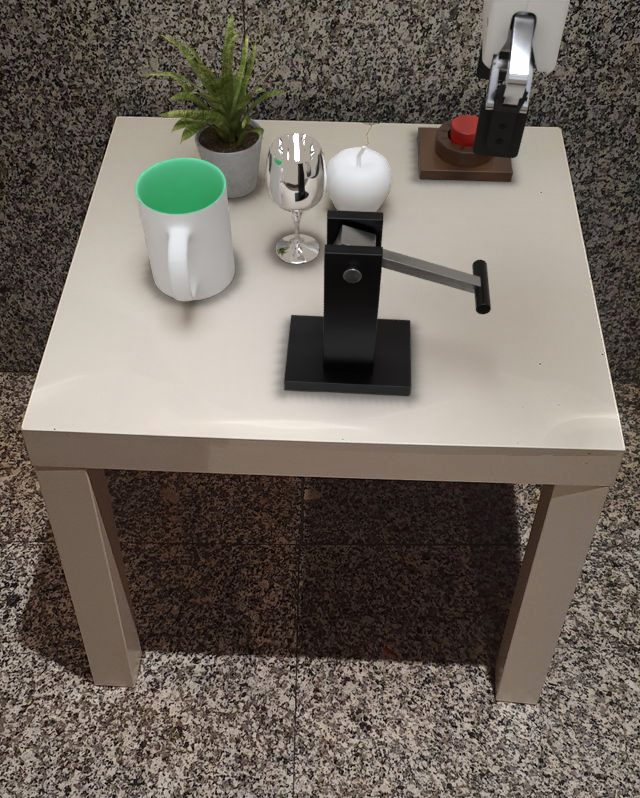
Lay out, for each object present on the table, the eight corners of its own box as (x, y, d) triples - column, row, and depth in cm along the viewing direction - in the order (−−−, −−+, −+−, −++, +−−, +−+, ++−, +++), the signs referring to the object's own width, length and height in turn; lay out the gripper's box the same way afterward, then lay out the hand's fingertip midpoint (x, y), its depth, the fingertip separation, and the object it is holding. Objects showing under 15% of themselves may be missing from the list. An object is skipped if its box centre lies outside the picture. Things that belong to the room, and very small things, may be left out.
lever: (479, 276, 70) (492, 256, 69) (483, 321, 67) (497, 301, 65) (333, 233, 68) (343, 211, 66) (330, 278, 64) (340, 256, 63)
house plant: (170, 138, 96) (147, -3, 83) (290, 136, 97) (286, -5, 84) (159, 219, 87) (132, 75, 75) (291, 217, 88) (287, 73, 75)
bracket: (409, 328, 78) (425, 201, 66) (409, 396, 73) (427, 271, 61) (291, 323, 78) (287, 195, 67) (284, 390, 73) (278, 264, 62)
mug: (236, 328, 78) (226, 243, 70) (149, 333, 78) (129, 247, 69) (234, 242, 85) (225, 155, 77) (155, 245, 85) (137, 159, 77)
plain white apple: (347, 238, 86) (349, 174, 79) (311, 200, 89) (311, 136, 83) (403, 215, 88) (410, 151, 82) (366, 179, 92) (369, 115, 85)
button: (481, 128, 93) (483, 115, 92) (484, 148, 91) (486, 134, 90) (449, 128, 93) (450, 114, 92) (450, 147, 91) (452, 133, 90)
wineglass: (335, 241, 85) (338, 140, 76) (309, 275, 82) (307, 175, 73) (286, 223, 87) (283, 122, 78) (258, 257, 84) (251, 155, 74)
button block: (504, 138, 96) (508, 115, 94) (511, 181, 92) (516, 158, 89) (417, 135, 97) (419, 113, 94) (419, 179, 92) (422, 156, 89)
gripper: (625, -69, 44) (548, 193, 57) (603, -189, 54) (543, 57, 68) (481, -81, 44) (439, 182, 58) (487, -197, 55) (450, 48, 68)
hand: (495, 114), depth 63 cm, fingers open, 9 cm apart
